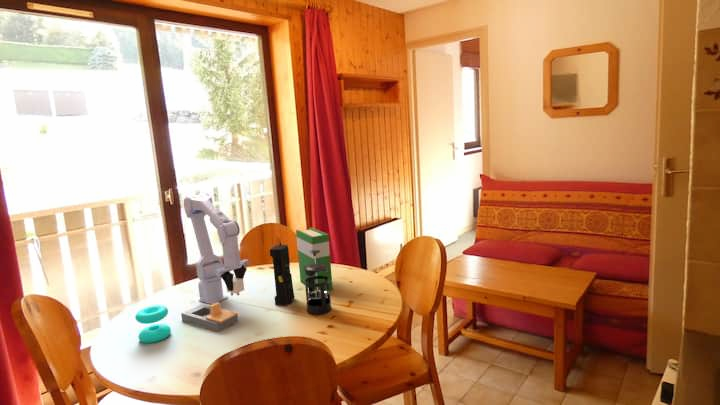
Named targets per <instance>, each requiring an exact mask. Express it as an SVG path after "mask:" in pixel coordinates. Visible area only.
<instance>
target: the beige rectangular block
mask: <svg viewBox="0 0 720 405" xmlns="http://www.w3.org/2000/svg"><path fill="white" fill-rule="evenodd" d="M244 283H245V282H244V278H243V279H242V278H237V277H235V276H233V291H229V290H228V289H227V286H226V292H227V293H230V296H232V297H233V296H234V294H236V296H240V293H241V292H243V291H245V284H244Z"/></svg>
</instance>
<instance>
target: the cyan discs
mask: <svg viewBox="0 0 720 405" xmlns="http://www.w3.org/2000/svg"><path fill="white" fill-rule="evenodd" d="M168 314H169V310H168V308H167V307H166V306H164V305H161V304H160V305H159V304H157V305H150V306H146V307H144V308H142V309H140V310H138V311H137V313H136V314H135V320H136V321H137V322H138V323H139V324H144V325H145V324H148V326H146V327H145V328H143V329H141V331H139V333H138V340H139V341H140V342H141V343H144V344H153V343H157V342H160V341H162V340H165V339H166V338H168V336H170V334H171V332H172V329H171V327H170V325H167V324H166V323H157V322H160V321H162V320H163V319H165V317H166V316H168ZM150 324H151V325H150Z"/></svg>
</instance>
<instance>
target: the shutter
mask: <svg viewBox="0 0 720 405" xmlns="http://www.w3.org/2000/svg"><path fill="white" fill-rule="evenodd" d="M209 306H210V314H211V315H209V316H207V317H206V319H209V320H212V321H216V322H219V323H222V322H224V321H226V320H228V319H230V318H232V317H234V316H236V315H237V316H238V314H239V313H238V312H236V311H232V310H228V309H223V308H221V306H222V305H221V302H220V301H219V302H217V303H214V304H210V305H209ZM221 309H222V310H221Z"/></svg>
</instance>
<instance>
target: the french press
mask: <svg viewBox="0 0 720 405" xmlns="http://www.w3.org/2000/svg"><path fill="white" fill-rule="evenodd" d="M319 252H320V251H319V250H312V251H309V253H310V254H313V255H314V258H315V256H316V253H319ZM327 268H328V265H327V264H323V263H316V259H315V264H310V265H307V266H305V267H304V270H305V274H306V275H308V278H307V279H305V285H304V289H305V296H306V297H305V298H306V313H307V314H309V315H311V316H322V315H326V314H329V313H330V312H332V309H333V308H332V307H333V306H332V302H331V293H330V292H331V290H329V278H328V277H327V276H317V272H318V271H322V270H323V271H325V272H327ZM315 273H316V276H313V275H314V274H315ZM314 279H316V282H317V279H325V280H326V281H325V282H322V283H317V284H315V282H314ZM307 282H308V283H307ZM325 285H327V291H326V290H325ZM308 287H309V288H308ZM315 287H317V290H315ZM318 287H320V290H318Z"/></svg>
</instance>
